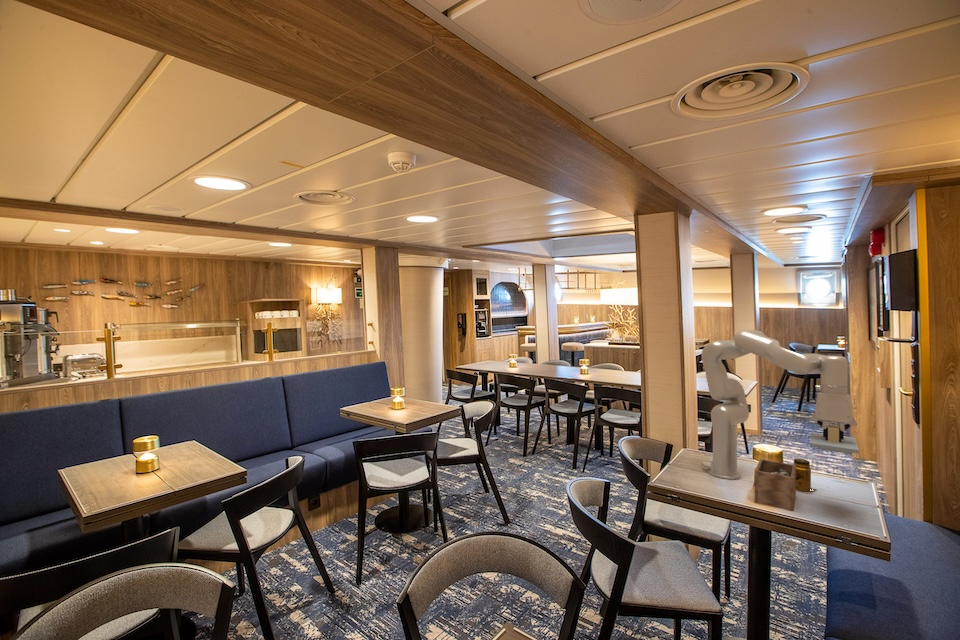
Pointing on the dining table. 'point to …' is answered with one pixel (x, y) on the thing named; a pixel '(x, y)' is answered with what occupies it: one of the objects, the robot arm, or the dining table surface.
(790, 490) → the box
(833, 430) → the lid
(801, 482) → the condiment
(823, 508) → the dining table surface
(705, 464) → the robot arm
